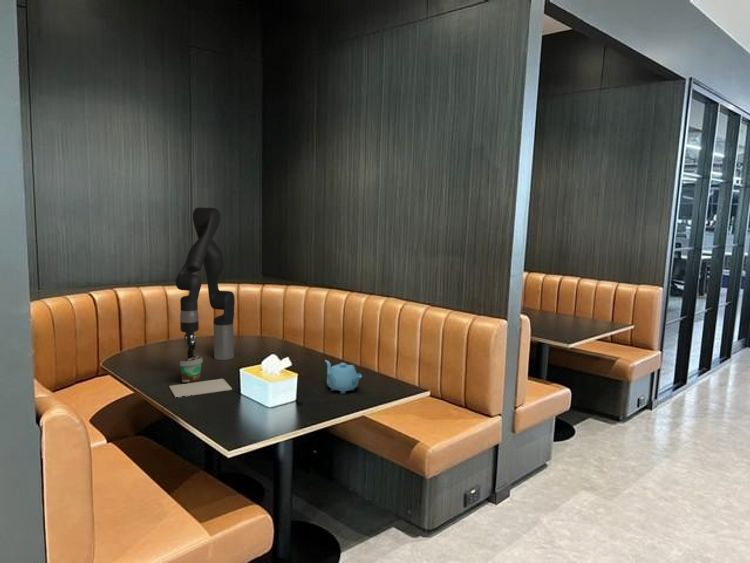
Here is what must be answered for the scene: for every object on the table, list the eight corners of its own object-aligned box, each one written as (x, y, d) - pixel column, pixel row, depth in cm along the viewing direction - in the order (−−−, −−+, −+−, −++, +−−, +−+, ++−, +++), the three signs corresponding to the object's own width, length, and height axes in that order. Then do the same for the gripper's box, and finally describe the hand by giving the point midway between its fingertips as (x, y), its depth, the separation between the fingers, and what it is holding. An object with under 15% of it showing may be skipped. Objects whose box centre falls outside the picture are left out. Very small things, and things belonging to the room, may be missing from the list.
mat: (169, 387, 224) (169, 385, 224) (223, 379, 235) (223, 378, 235) (175, 397, 212) (175, 396, 212) (231, 389, 223) (231, 388, 223)
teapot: (323, 395, 219) (323, 368, 217) (324, 384, 232) (324, 358, 231) (361, 395, 220) (361, 368, 218) (360, 384, 233) (360, 359, 232)
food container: (193, 385, 226) (193, 362, 225) (180, 384, 228) (179, 361, 226) (208, 376, 238) (208, 354, 237) (195, 375, 240) (195, 353, 238)
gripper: (201, 322, 232) (202, 361, 234) (195, 316, 243) (195, 354, 246) (183, 323, 228) (184, 364, 231) (177, 317, 240) (178, 356, 242)
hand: (190, 358), depth 238 cm, fingers closed
